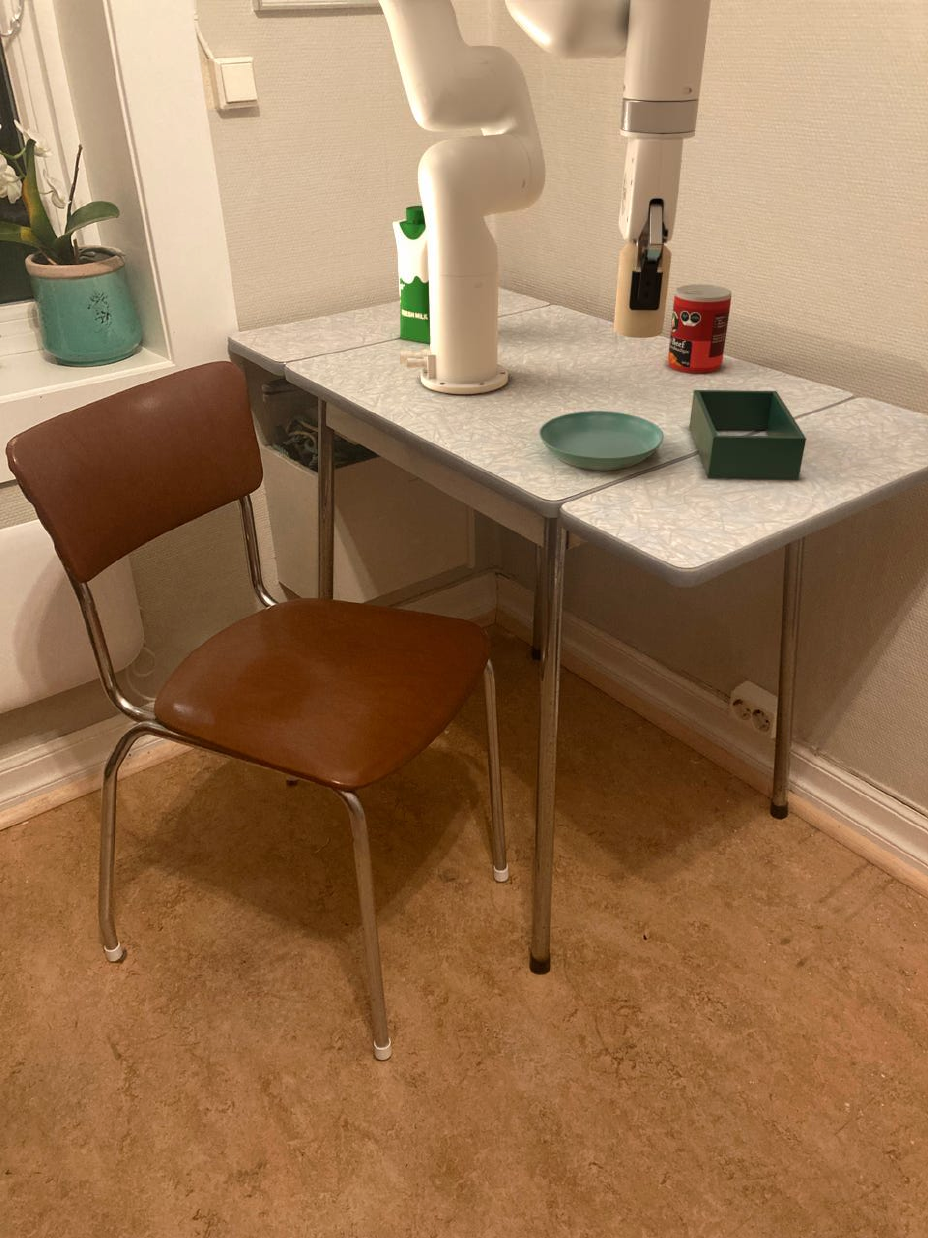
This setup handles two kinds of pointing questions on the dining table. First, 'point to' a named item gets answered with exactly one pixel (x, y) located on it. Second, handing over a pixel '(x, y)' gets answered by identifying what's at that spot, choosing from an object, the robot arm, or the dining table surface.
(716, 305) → the canned food
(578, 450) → the saucer
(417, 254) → the milk carton
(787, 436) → the case
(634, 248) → the candle
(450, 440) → the dining table surface
